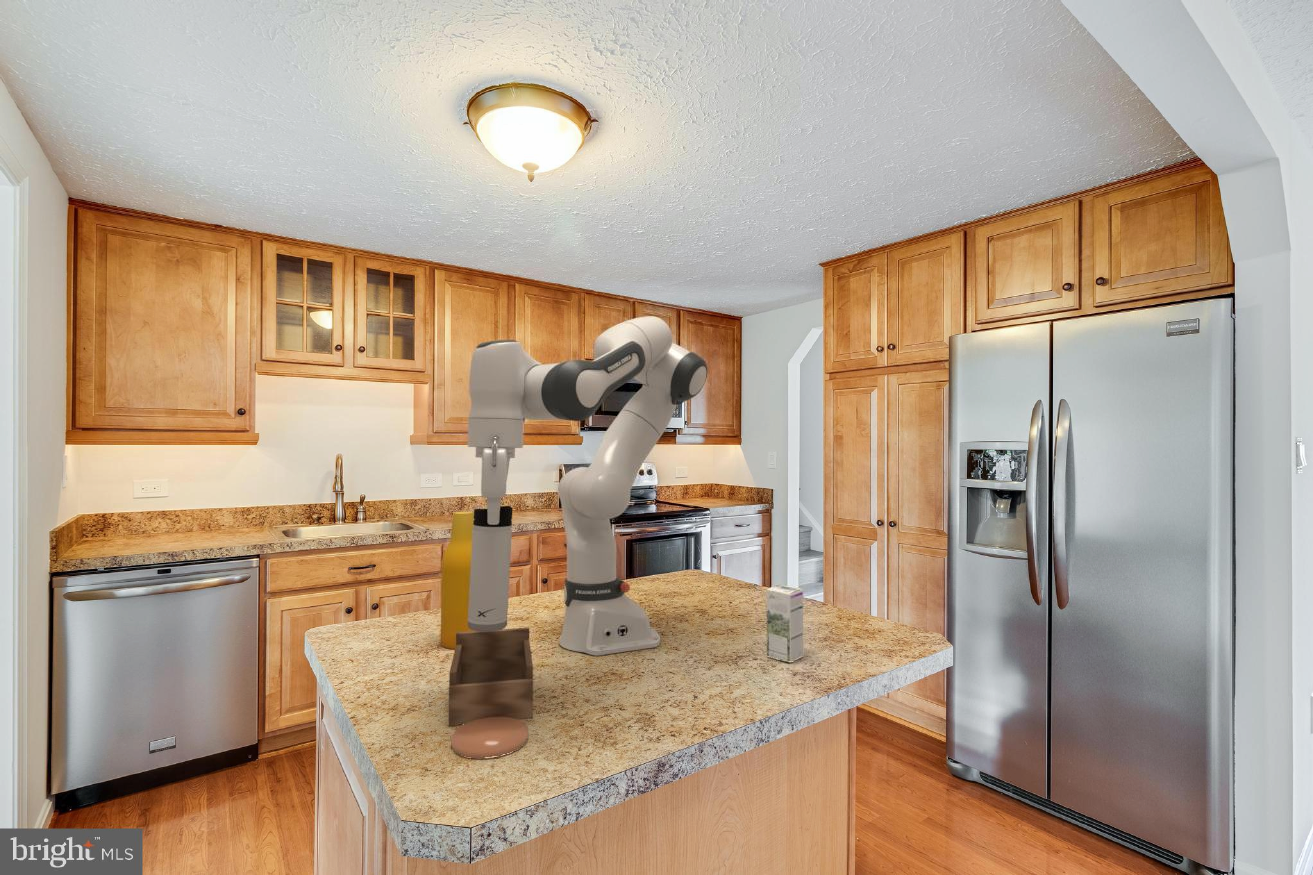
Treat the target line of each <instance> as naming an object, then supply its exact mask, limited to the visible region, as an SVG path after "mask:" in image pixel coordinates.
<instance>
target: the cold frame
mask: <svg viewBox="0 0 1313 875" xmlns="http://www.w3.org/2000/svg"><path fill="white" fill-rule="evenodd" d="M532 657H533V656H532V650H531V643H530V627H517V628H516V627H515V628H503V629H501V630H498V631H491V632H480V631H469V632H456V647H455V649H454V652H453V657H452V660H451V665H450V670H449V676H448V677H449V680H448V681H449V682H448V727H452V725H455V726H460V725H459V724H466V723H468V722H471V721H474V720H477V719H482V718H487V717H510V718H515V719H518V720H524V719H533V717H534V712H533V711H534V678H533V676H534V672H533V671H534V667H533V666H534V664H533V658H532Z"/></svg>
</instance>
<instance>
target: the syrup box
mask: <svg viewBox="0 0 1313 875" xmlns="http://www.w3.org/2000/svg"><path fill="white" fill-rule="evenodd" d="M767 656H771V657H774V658H778V659H780V660H785V661H793V660H795V659H797V658H799V657H801V656H803V657H804V589H803V588H799V587H793V586H789V585H781V584H779V585H774V586H771V587H769V588H766V657H767Z"/></svg>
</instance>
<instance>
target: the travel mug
mask: <svg viewBox="0 0 1313 875" xmlns="http://www.w3.org/2000/svg"><path fill="white" fill-rule="evenodd" d="M513 509H514V508H513V507H511V505H500V514H499V523H498V524H497V525H490V524H488V512H487V508H474V509H473V517H474V521H473V528H474V529H473V533H472V552H471V570H470V589H469V608H468V628H470V629H471V630H474V631H480V632H491V631H498V630H501V629H506V627H507V626H508V613H509V611H508V610H509V591H510V572H511V556H512V554H511V551H512V537H513V536H512V533H513V529H512V528H513V521H512V520H513Z"/></svg>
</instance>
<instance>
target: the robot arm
mask: <svg viewBox="0 0 1313 875" xmlns="http://www.w3.org/2000/svg"><path fill="white" fill-rule="evenodd" d="M593 358H594V359H593V360H591V361H589V360H585V359H583V360H582V359H573V360H567V361H564V362H557V363H547V364H542V363H541V362H539V361H537V360H535V358H533V357H532V356H531V355H529V354H528V353H527V352H526V351H525V349H524V348H523V346H522V343H521V342H520V341H518V340H515V339H499V340H490V341H484V342H481V343H479V344H478V345H476V346H475V348H474V350H473V353H472V357H471V361H470V368H469V384H468V386H469V387H468V393H469V396H470V401H471V402H470V404H471V406H470V410H469V413H468V418H467V419H468V421H467V423H468V425H467V427H468V428H467V447H468V448H475V458H481V479H480V480H481V481H480V482H481V483H480V484H481V485H480V486H481V487H480V493H481V497H482V498H486V507H487V508H486V509H487V512H488V524H490V525H497V524H498V523H499V514H500V506H501V504H502V502H501V501H502V499H503V498H505V496H506V495H507V481H508V474H509V469H510V468H509V467H510V461H511V459H515V458H516V449H523V448H524V419H525V420H531V421H538V420H539V421H541V420H542V421H552V420H553V421H559V420H561V421H573V422H581V421H582V422H583V421H585V420H587V419H589V418H591V417H592V416H593V415H594V414H595V413H596V412H597V410H598V409H599V408H600V406H601V405H602V403H603V402H604V401H605V400H606V398H607V397H608V396H609V395H610V394H611V393H613V392H615V391H616V390H617V389H618V388H620V387H622V386H623V385H625V384H626V383H628V382H630V381H631V380H632V379H635V380H636V381H638V382H640V383H641V384H642V387H641V388H640V389H639V390H638V391H637V392H636V393H635V394H633V396H632V397H631V398H630V399H629V400H628V402H626V404H625V405H624V406H623V408H622V409H621V410H620V412H619V413H618V414H617V416H616V417H615V419H614V420H613V421H612V423H611V424H610V425H609V427H608V428H607V429H606V431H605V433H603V435H602V436H601V440H600V445H599V447H598V450H597V452H596V453H595V455H594V458H593V459H592V462H591V463H590V465H589V466H587V467H586V466H579V467H575V468H574V469H572V470H570V471H568V472H567V473H565V474H564V475H563V476H562V477H561V479H560V481H559V482H558V487H557V493H558V496H559V500H560V504H561V505H560V506H561V511H562V521H563V526H564V532H565V538H566V539H565V541H566V578H565V580H564V585H563V586H564V589H563V590H564V591H563V593H564V595H563V599H564V600H563V601H564V605H565V610H564V611H565V612H564V619H563V624H562V630H561V634H560V638H559V639H558V640H559V641H558V644H559V645H560V646H561V647H562V648H564V649H566V650H570V651H573V652H579V653H586V654H588V655H590V656H602V655H611V654H618V653H622V652H623V653H624V652H630V651H636V650H638V651H639V650H643V649H651V648H656V647H658V646H659V645H660V644H661V636H660V634H659V633H658V631H656V629H654V628H652V627H651V624H650V619H649V616H648V614H647V612H646V610H645V609H644V608H643V607H642V606H641V605H639V604H638V603H637V602H635V601H634V600H633V599H632V598H630V597H629V596H628V595H626V593H629V592H630V590H631V585H630V584H629V583H628V582H626V581H625V580H623V579H621V578H620V577H617V542H616V539H615V537H614V534H613V530H612V525H611V521H610V520H611V519H614V518H617V517H619V516H621V515H622V514H623V513H624V512H625V511H626V510H627V508H628V507H629V505H630V501H631V490H632V488H633V485H634V483H635V480H636V479H637V476H638V473H639V471H640V469H641V467H642V465H643V464H644V463H645V460H646V459H647V457H648V456H649V454H650V453H651V451H652V450H653V448H654V447H655V446H656V444H657V443H658V442H659V440H660V438H661V437H662V436H663V434H664V432H665V430H666V429H667V427H668V425H669V424H670V422H671V419H673V418H672V417H673V416H674V413H675V411H676V408H677V406H678V405H682V404H683V403H685V402H687V401H690V400H691V399H693V398H695V397H696V396H697V395H698V394H699V393H700V392H702V389H703V387H704V386H705V383H706V380H707V377H708V366H707V362H706V360H704V358H702V357H701V356H700V355H699V354H697V353H695V352H693V351H690V350H687V349H686V348H684V347H682V346H680V345H678V344H676V343H674V342H673V334H672V330H671V328H670V326H669V325H668V324H667V322H666V321H664V320H663V319H661V318H660V317H657V316H655V315H652V316H651V315H648V316H641V317H635V318H631V319H629V320H625V321H623V322H620V323H618V324H615V325H613V326H611V327H609V328H608V329H606V330H604V331H603V332H602V333H601V334H599V335H598V336H597V338H596V339H595V341H594V345H593Z"/></svg>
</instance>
